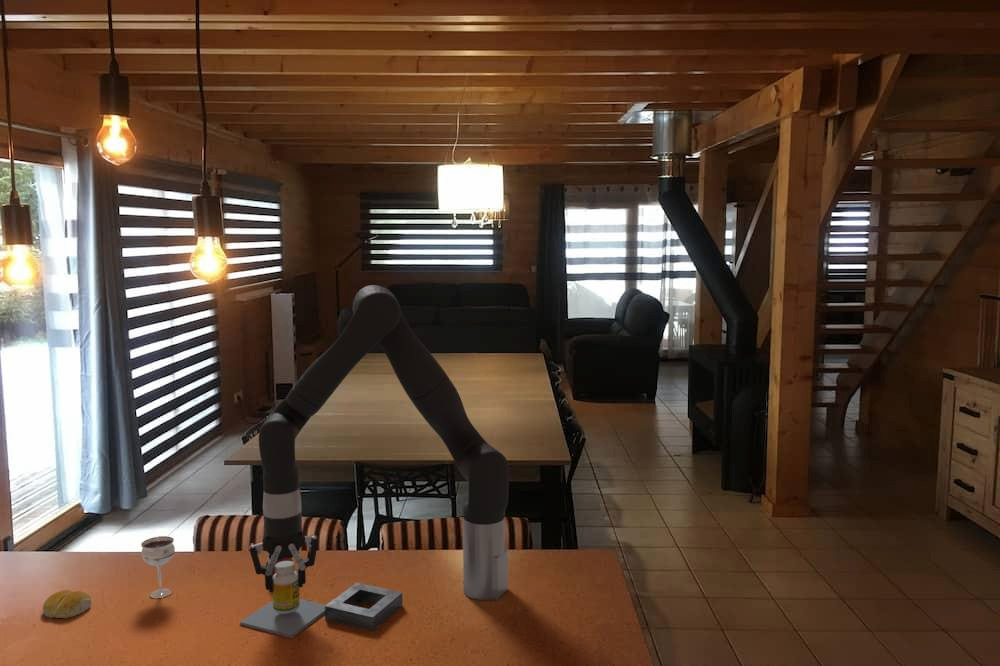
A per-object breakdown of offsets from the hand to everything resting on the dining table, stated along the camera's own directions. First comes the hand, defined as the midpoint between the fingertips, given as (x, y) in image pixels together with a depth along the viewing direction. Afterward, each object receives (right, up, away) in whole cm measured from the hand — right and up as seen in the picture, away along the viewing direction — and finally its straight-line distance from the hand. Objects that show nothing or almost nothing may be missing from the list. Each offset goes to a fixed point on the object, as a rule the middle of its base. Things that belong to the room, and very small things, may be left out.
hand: (285, 587), depth 162 cm
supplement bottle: (0, -5, +1) cm, 5 cm away
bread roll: (-47, -6, +4) cm, 48 cm away
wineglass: (-31, -5, +11) cm, 33 cm away
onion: (-5, -4, +16) cm, 18 cm away
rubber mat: (0, -6, +1) cm, 6 cm away
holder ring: (+16, -6, +3) cm, 17 cm away
